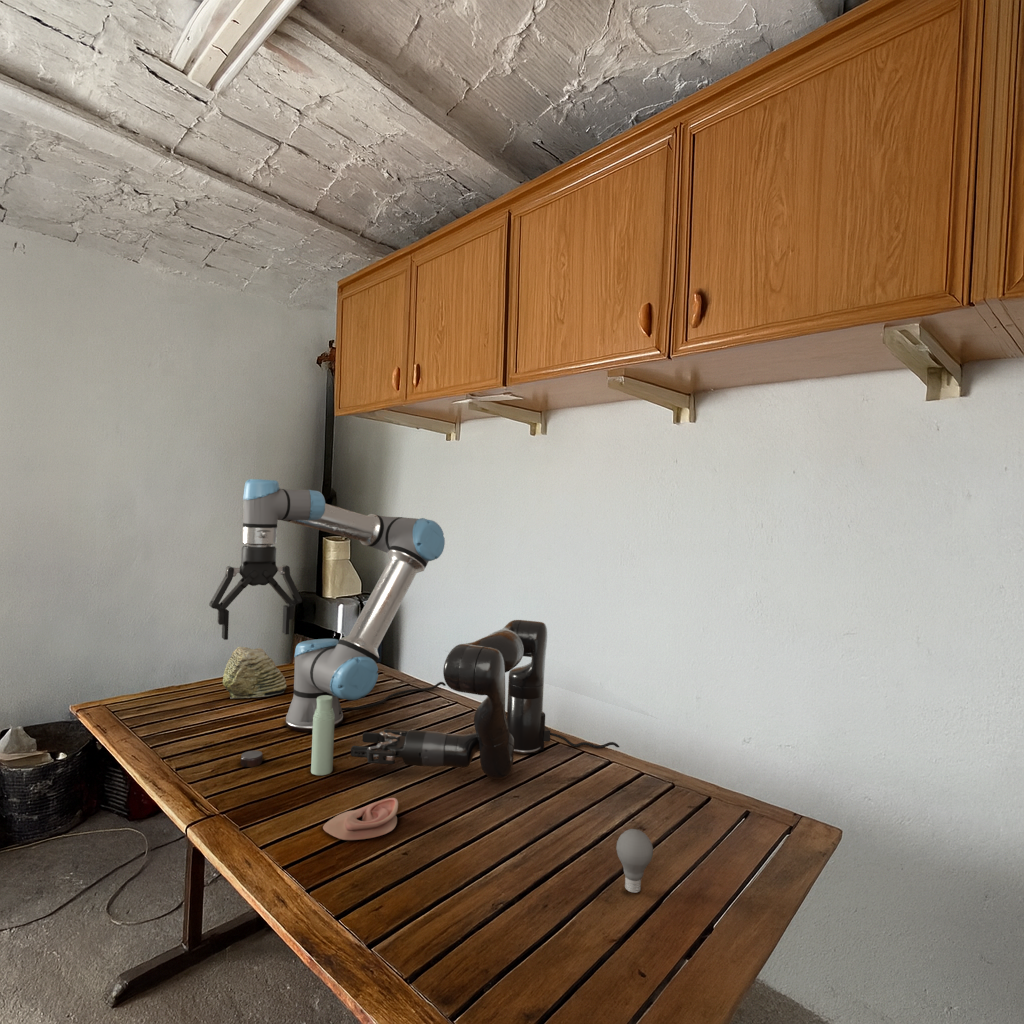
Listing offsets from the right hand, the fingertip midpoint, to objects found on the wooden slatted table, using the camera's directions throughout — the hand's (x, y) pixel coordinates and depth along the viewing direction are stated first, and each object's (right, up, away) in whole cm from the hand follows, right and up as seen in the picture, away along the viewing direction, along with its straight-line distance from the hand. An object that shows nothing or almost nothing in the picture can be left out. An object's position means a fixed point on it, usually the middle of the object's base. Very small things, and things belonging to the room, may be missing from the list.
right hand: (357, 743), depth 146 cm
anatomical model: (+6, -7, -23) cm, 25 cm away
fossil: (-45, -4, +52) cm, 69 cm away
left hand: (-24, +24, +2) cm, 34 cm away
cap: (-26, -4, +3) cm, 26 cm away
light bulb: (+56, -10, -40) cm, 70 cm away
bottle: (-8, -6, 0) cm, 10 cm away
